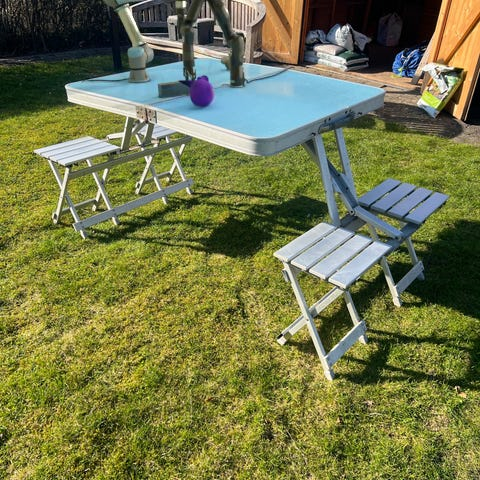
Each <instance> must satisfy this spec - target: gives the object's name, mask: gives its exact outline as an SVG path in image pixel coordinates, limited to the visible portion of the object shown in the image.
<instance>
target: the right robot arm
mask: <svg viewBox="0 0 480 480" xmlns="http://www.w3.org/2000/svg"><path fill="white" fill-rule="evenodd" d="M205 1H206V2H207V4H208V6H209V8H210V10H211V12H212V14H213V16H214V18H215V20H216V22H217V24H218V26H219V28H220V30H221V31H222V34H223V36H224V39H225V42H226V44H227V47H228V48H229V49H231V50H232V55H231V56H230V70H229V82H230V83H229V86H230V88H243V87H245V86H246V85H245V83H246V84H249V83H252V82H255V81H260V80H264V79H269V78H272V77H275V76H277V75H280V74H282V73H284V72H285V71H287V70H290V69H294V70H296V68H295V66H290V67H287V68H285V69H283V70H281V71H279V72H277V73H275V74H272V75H268V76H265V77H259V78H253V79H251V80H249V81H248V79H246V77H245V71H244V61H243V57H244V56H245V39H244V37H243V36H241V35H239V34H236V32H235V30H234V28H233V26H232V22H231V16H230V13H229V10H228V7H227V6H226V5H225V3H224V1H223V0H192V1H191V2H190V5H189V7H188V9H187V14H186V15H185V16H186V18H185V19H184V21H183V23H182V25H181V27H180V33H181V35H182V37H183V42H182V44H181V45H182V65H183V67H182V74H183V77H184V80H190V79H191V81H195V80H197V71H196V69H194V67H195V66H196V62H195V51H194V42H195V29H194V27H193V26H194V24H196V23H197V21H198V19H199V16H200V13H201V11H202V9H203V6H204V4H205ZM244 58H245V57H244Z"/></svg>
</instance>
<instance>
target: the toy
mask: <svg viewBox="0 0 480 480" xmlns="http://www.w3.org/2000/svg"><path fill="white" fill-rule="evenodd" d="M195 80H196V81H191V80H190V79H189V80H185V79H179V80H178V81H179V82H180V83H182V84H184V85H186V86H188V87H190V94H189V99H190V101H191V103H192V104H193V105H194V106H196V107H199V108H206V107H209V105H211V104H212V102H213V101H214V99H215V97H216V96H215V95H216V94H215V88H214V85H213V84H212V83H211V82H209V81H210V80H209V77H208V76H207V75H206V74H204V75H200V76H198V77H196V79H195Z"/></svg>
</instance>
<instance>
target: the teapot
mask: <svg viewBox="0 0 480 480" xmlns="http://www.w3.org/2000/svg"><path fill="white" fill-rule="evenodd" d="M227 55H228V56H223V57H221V59H220V63H221V64H222V65H224V67H225V68H226V70H229V71H230V56H231V55H232V49H231V50H229V53H228V54H227ZM244 60H245V57H243V62H244Z"/></svg>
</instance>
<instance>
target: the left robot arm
mask: <svg viewBox="0 0 480 480" xmlns="http://www.w3.org/2000/svg"><path fill="white" fill-rule="evenodd" d="M141 1H142V2H143V1H146V0H103V2H104V3H105V4H106V5H107V6H108V7H112V9H113V11H114V12H116V13H117V14H118V16H119V18H120V21H121V22H122V25H123V26H124V29H125V31H126V33H127V36H128V38H129V39H130V41H131V43H132V44H131V45H132V47H129V48H128V49H127V56H128V66H129V76H128V78H127V77H126V78H122V79H83V80H82V83H84V82H86V81H88V82H122V81H128V82H129V83H133V84H141V83H148V82H150V75H149V74H148V71H147V67H146V64H149V63H151V61H153V59H154V50H153V48H152V47H150V46H149V44H148V42H147V41H145V40H144V39H143V36H142V34H141V31H140V29H139V28H138V25H137V23H136V21H135V19H134V17H133V15H132V13H131V10H130V8H129V7H130V3H132V2H133V3H134V2H141ZM187 4H188V2H187V0H175V13H176V29H177V38H178V40H183V36H182V35H181V33H180V27H181V25H182V23H183V21H184V19H185V18H186V16H187V13H188V9H187ZM83 81H84V82H83ZM88 130H90V128H88Z"/></svg>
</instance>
